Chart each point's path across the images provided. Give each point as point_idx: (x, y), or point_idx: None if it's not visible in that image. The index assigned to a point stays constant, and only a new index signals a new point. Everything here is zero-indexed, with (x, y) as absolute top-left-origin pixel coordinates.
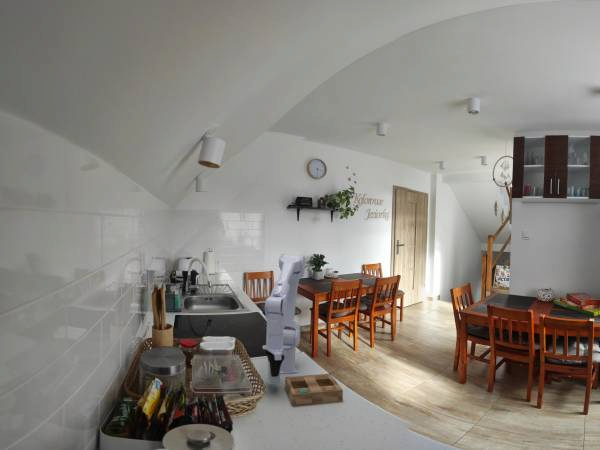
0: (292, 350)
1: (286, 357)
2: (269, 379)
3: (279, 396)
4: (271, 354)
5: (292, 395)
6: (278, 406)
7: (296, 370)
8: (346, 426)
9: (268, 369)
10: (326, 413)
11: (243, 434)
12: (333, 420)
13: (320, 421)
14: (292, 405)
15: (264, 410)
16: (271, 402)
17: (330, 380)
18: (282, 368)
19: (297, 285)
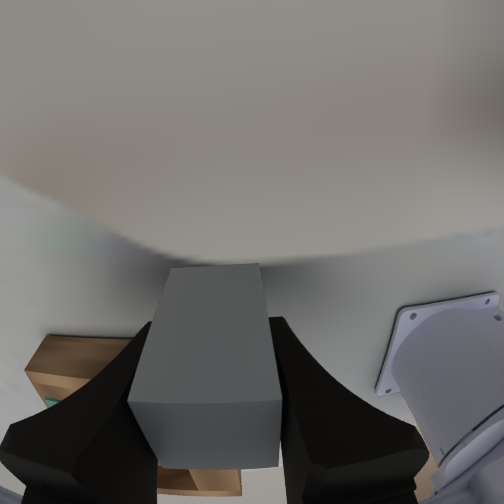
0: (435, 459)
1: (428, 412)
2: (166, 288)
3: (129, 297)
4: (294, 464)
5: (33, 365)
6: (41, 278)
7: (389, 391)
8: (11, 417)
9: (210, 324)
10: (45, 408)
11: None
12: (21, 407)
13: (5, 381)
14: (47, 337)
15: (6, 210)
16: (68, 249)
17: (186, 488)
18: (413, 348)
19: None
